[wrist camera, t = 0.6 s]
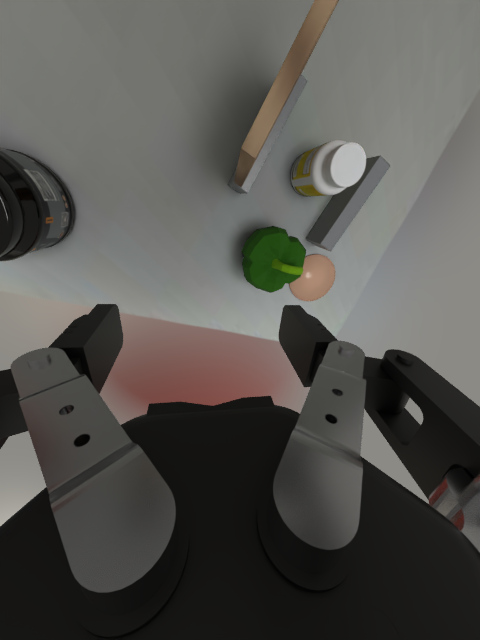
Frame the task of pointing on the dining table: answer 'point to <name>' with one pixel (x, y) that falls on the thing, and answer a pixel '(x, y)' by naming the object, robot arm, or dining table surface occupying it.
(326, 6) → the tan flat square panel
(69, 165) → the dining table surface
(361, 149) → the supplement bottle
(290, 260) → the bell pepper
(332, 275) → the coaster
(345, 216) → the rails
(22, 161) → the supplement container
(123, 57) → the dining table surface
